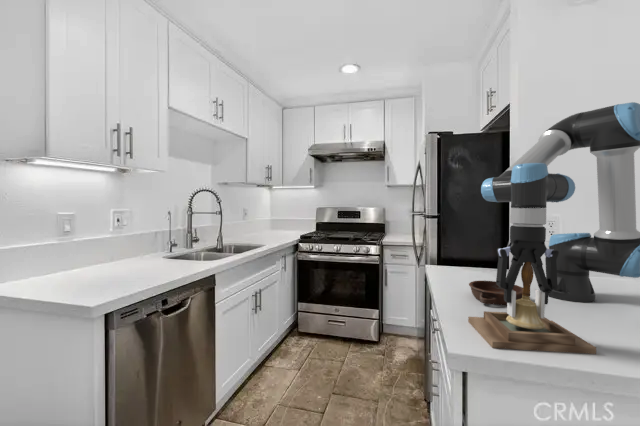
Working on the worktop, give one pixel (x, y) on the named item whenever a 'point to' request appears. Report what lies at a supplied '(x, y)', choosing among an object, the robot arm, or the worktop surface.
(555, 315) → the worktop surface
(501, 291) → the dish
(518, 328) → the walnut stand
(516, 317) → the hand bell
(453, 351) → the worktop surface
